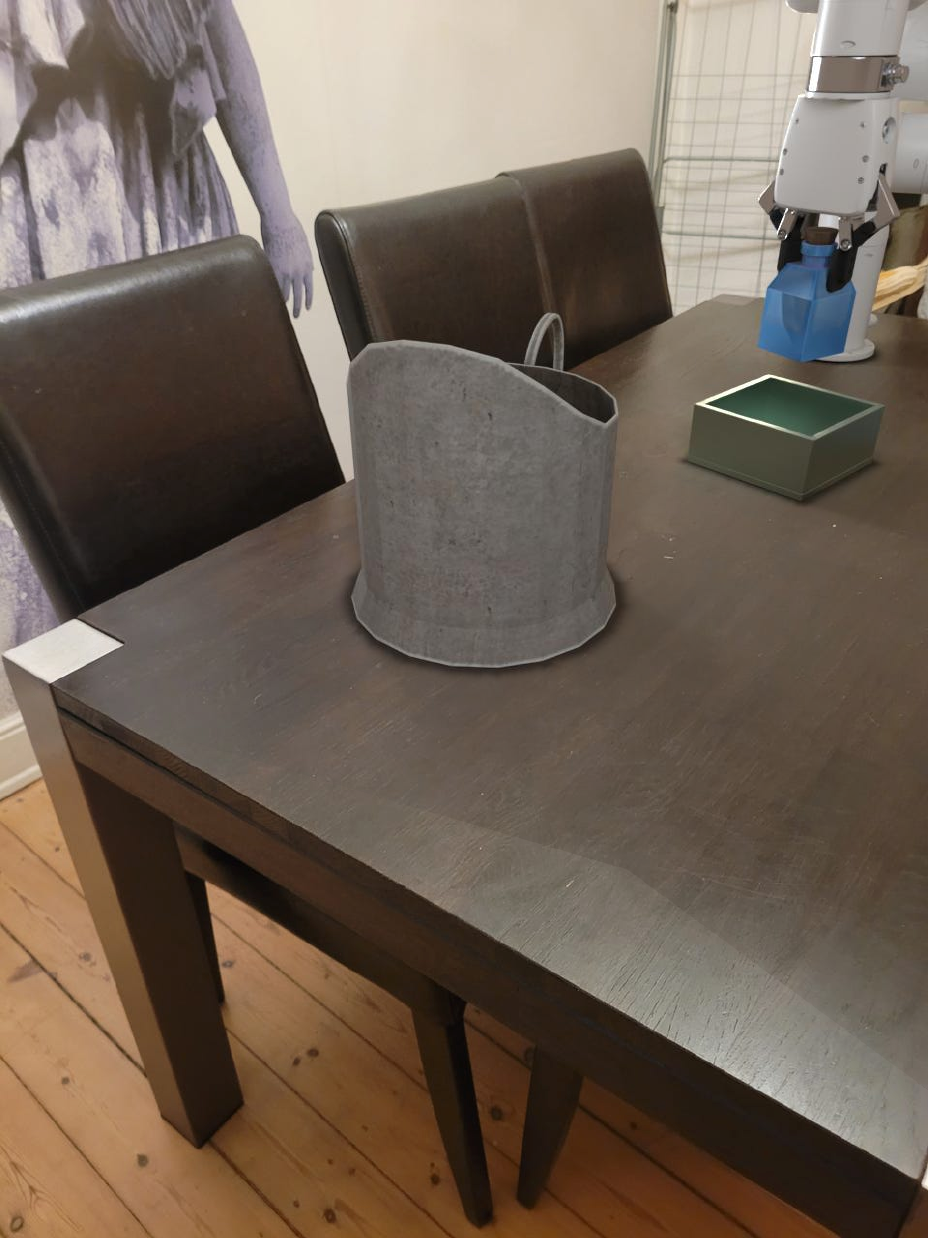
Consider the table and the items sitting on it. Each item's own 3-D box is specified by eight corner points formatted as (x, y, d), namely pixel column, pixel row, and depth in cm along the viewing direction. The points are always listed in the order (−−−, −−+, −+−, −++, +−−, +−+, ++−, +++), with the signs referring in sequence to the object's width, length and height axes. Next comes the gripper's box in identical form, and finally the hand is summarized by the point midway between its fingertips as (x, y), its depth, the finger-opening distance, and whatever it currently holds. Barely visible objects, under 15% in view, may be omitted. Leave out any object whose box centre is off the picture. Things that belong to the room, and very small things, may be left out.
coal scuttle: (303, 632, 77) (264, 330, 64) (452, 482, 102) (447, 241, 88) (570, 694, 70) (591, 367, 56) (661, 517, 94) (691, 259, 80)
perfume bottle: (800, 362, 95) (824, 238, 88) (757, 346, 99) (776, 227, 93) (843, 352, 97) (869, 231, 91) (799, 337, 102) (820, 221, 95)
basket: (759, 428, 114) (768, 373, 110) (871, 462, 105) (885, 405, 101) (687, 460, 106) (694, 403, 102) (801, 501, 97) (813, 440, 93)
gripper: (960, 79, 81) (909, 293, 91) (789, 74, 92) (760, 265, 102) (920, 84, 77) (871, 307, 87) (746, 78, 88) (720, 277, 98)
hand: (811, 282), depth 94 cm, fingers closed on perfume bottle, 4 cm apart
